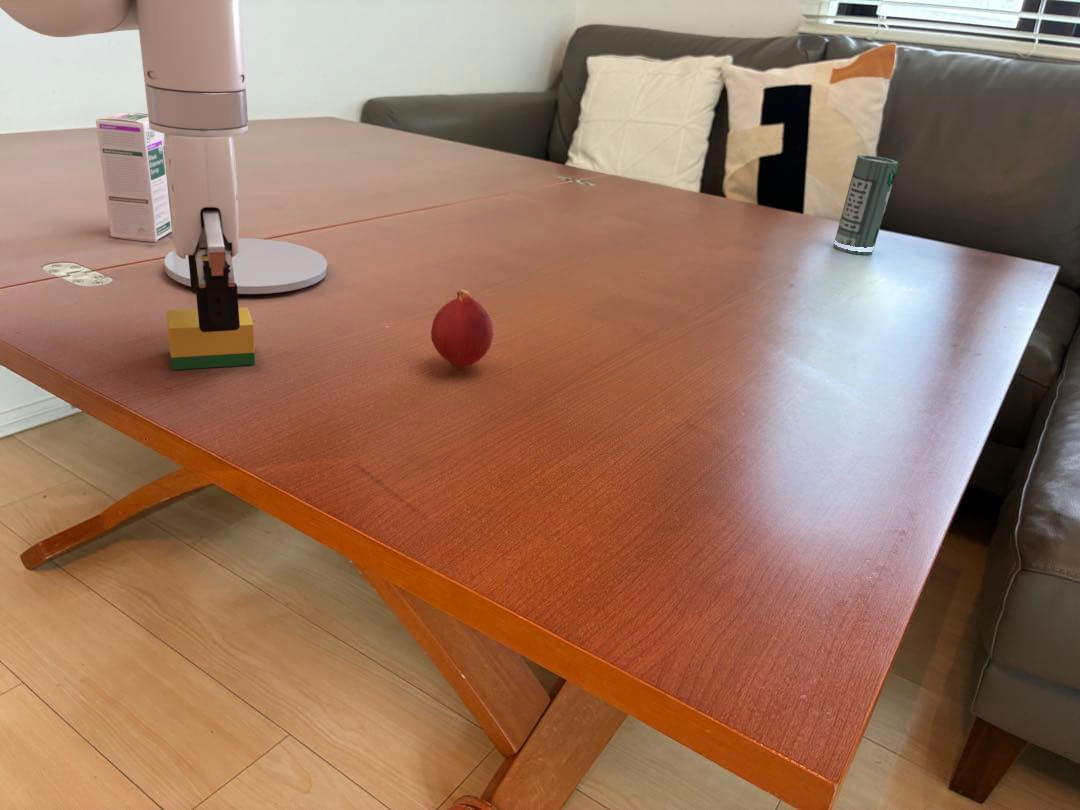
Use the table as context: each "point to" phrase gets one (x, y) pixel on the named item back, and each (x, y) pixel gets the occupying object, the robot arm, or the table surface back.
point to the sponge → (209, 342)
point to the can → (866, 202)
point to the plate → (262, 266)
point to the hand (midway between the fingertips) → (214, 309)
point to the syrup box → (134, 177)
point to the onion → (462, 331)
